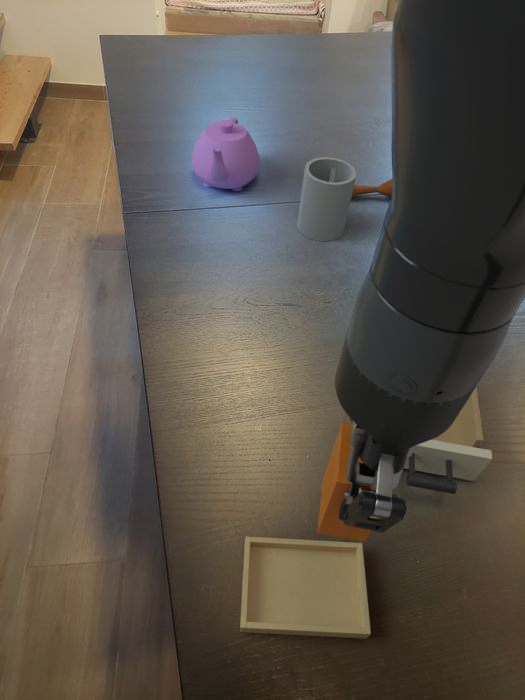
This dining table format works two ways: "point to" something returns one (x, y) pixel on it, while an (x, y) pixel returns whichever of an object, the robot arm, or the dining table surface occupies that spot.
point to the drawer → (451, 452)
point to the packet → (338, 491)
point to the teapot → (225, 156)
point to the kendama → (374, 189)
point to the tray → (304, 588)
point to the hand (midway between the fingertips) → (354, 483)
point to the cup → (325, 199)
